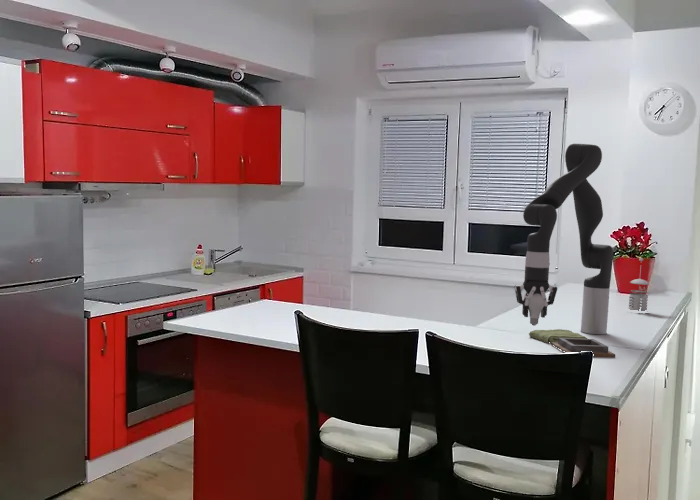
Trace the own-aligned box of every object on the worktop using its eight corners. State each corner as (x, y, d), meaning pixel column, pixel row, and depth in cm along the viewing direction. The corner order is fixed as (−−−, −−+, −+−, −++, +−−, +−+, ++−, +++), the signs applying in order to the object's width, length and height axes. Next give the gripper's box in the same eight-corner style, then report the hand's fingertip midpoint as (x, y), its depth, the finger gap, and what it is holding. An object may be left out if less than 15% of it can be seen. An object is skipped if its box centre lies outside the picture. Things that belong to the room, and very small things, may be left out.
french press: (645, 311, 322) (649, 257, 320) (653, 315, 310) (657, 259, 308) (623, 309, 323) (627, 256, 321) (630, 313, 311) (634, 258, 309)
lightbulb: (523, 326, 225) (525, 292, 224) (525, 323, 231) (527, 290, 230) (542, 328, 223) (544, 294, 222) (544, 325, 229) (546, 292, 228)
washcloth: (591, 343, 242) (591, 334, 242) (548, 345, 236) (549, 336, 235) (567, 336, 254) (567, 327, 254) (526, 337, 248) (526, 328, 248)
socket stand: (551, 345, 234) (551, 336, 234) (594, 346, 235) (595, 337, 234) (568, 356, 218) (569, 346, 218) (615, 357, 219) (615, 348, 218)
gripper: (554, 264, 229) (551, 315, 231) (512, 263, 229) (509, 314, 230) (562, 267, 222) (559, 319, 223) (518, 266, 221) (516, 318, 223)
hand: (534, 316), depth 227 cm, fingers closed on lightbulb, 5 cm apart
